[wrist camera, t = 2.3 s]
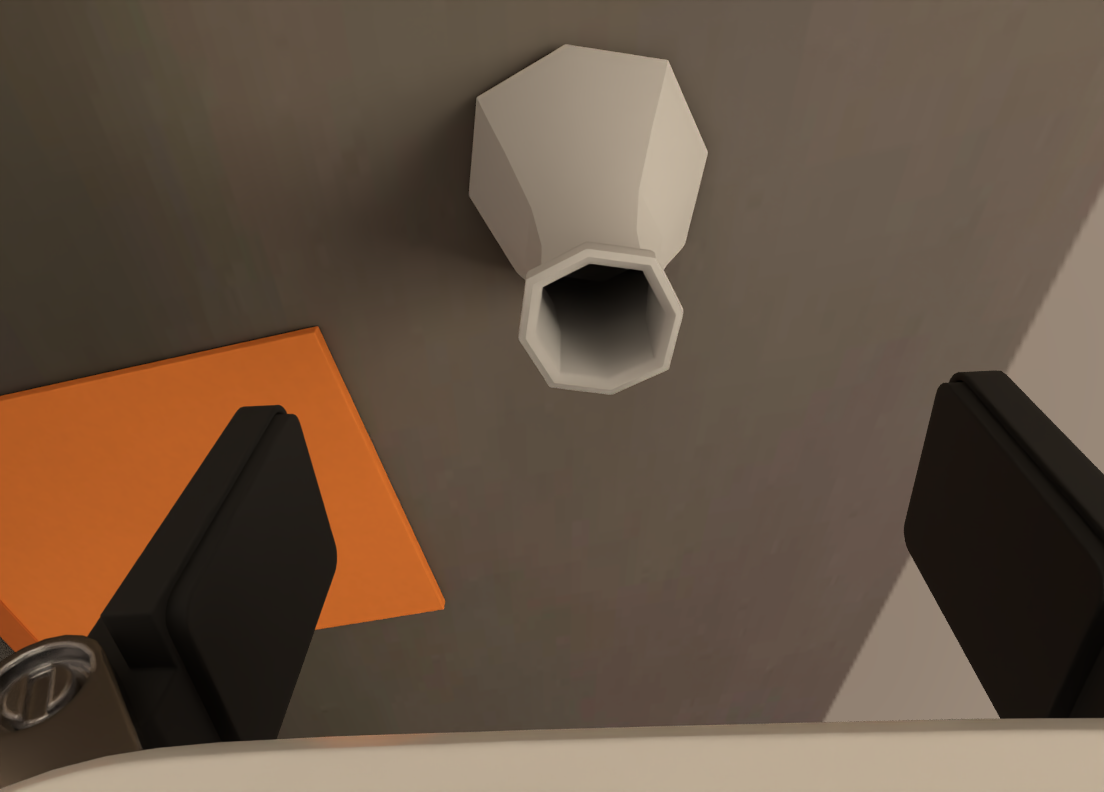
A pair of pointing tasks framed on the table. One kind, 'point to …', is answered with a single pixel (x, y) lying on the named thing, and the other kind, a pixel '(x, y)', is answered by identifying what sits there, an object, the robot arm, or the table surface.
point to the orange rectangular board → (183, 481)
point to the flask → (590, 209)
